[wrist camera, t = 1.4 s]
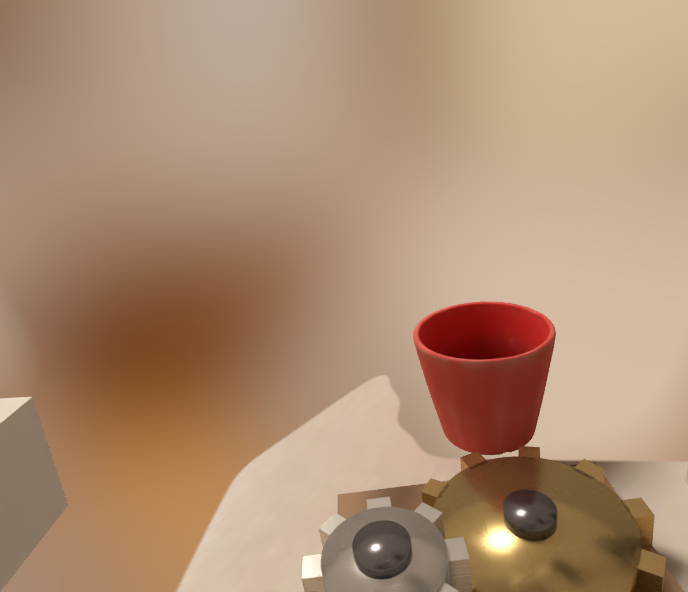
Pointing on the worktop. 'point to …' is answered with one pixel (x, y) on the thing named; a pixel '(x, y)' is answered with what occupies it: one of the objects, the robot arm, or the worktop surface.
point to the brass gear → (546, 527)
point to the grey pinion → (388, 553)
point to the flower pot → (486, 372)
